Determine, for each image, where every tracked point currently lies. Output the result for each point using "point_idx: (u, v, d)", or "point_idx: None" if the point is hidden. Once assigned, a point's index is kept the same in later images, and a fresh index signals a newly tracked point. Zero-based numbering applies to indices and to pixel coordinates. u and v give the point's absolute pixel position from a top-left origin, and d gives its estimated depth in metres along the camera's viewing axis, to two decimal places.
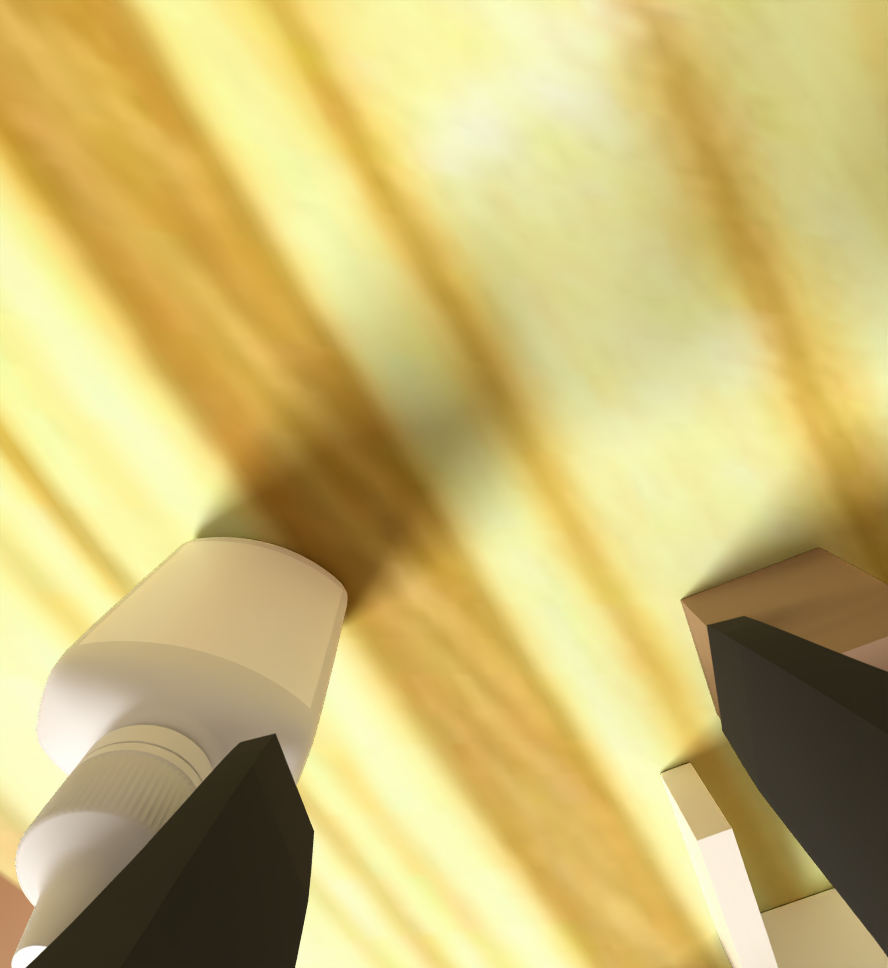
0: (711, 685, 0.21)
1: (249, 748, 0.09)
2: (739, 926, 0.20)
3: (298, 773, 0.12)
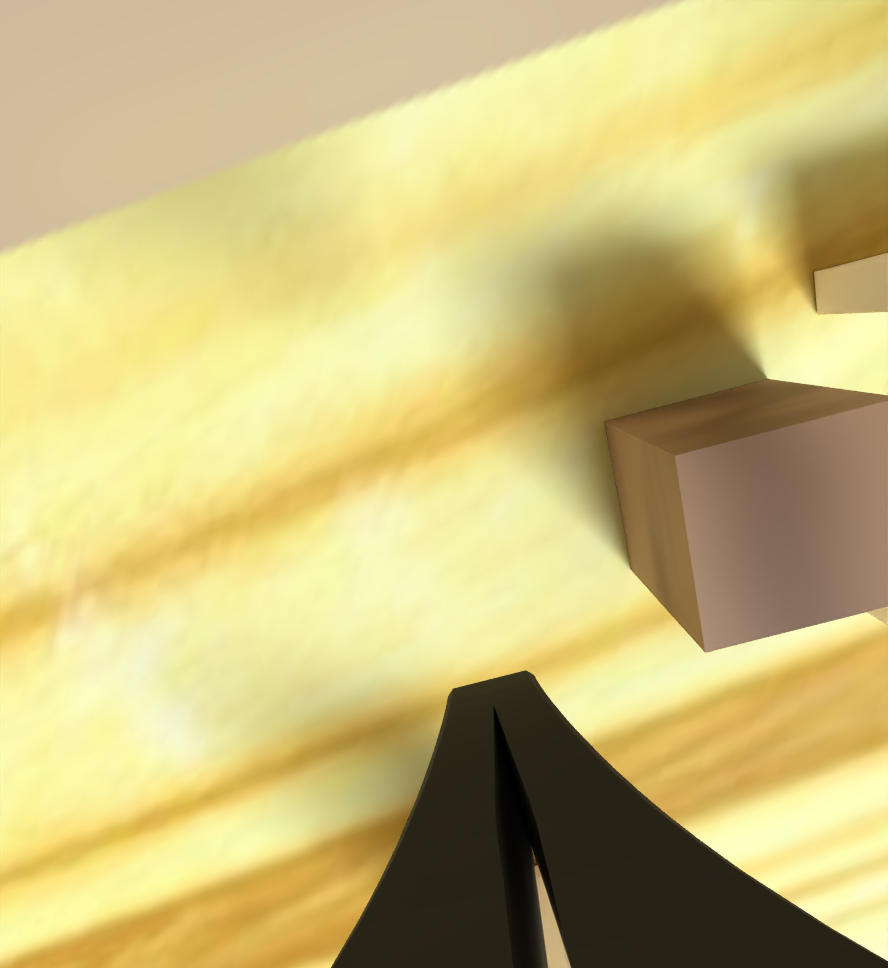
0: None
1: (472, 692, 0.09)
2: None
3: None
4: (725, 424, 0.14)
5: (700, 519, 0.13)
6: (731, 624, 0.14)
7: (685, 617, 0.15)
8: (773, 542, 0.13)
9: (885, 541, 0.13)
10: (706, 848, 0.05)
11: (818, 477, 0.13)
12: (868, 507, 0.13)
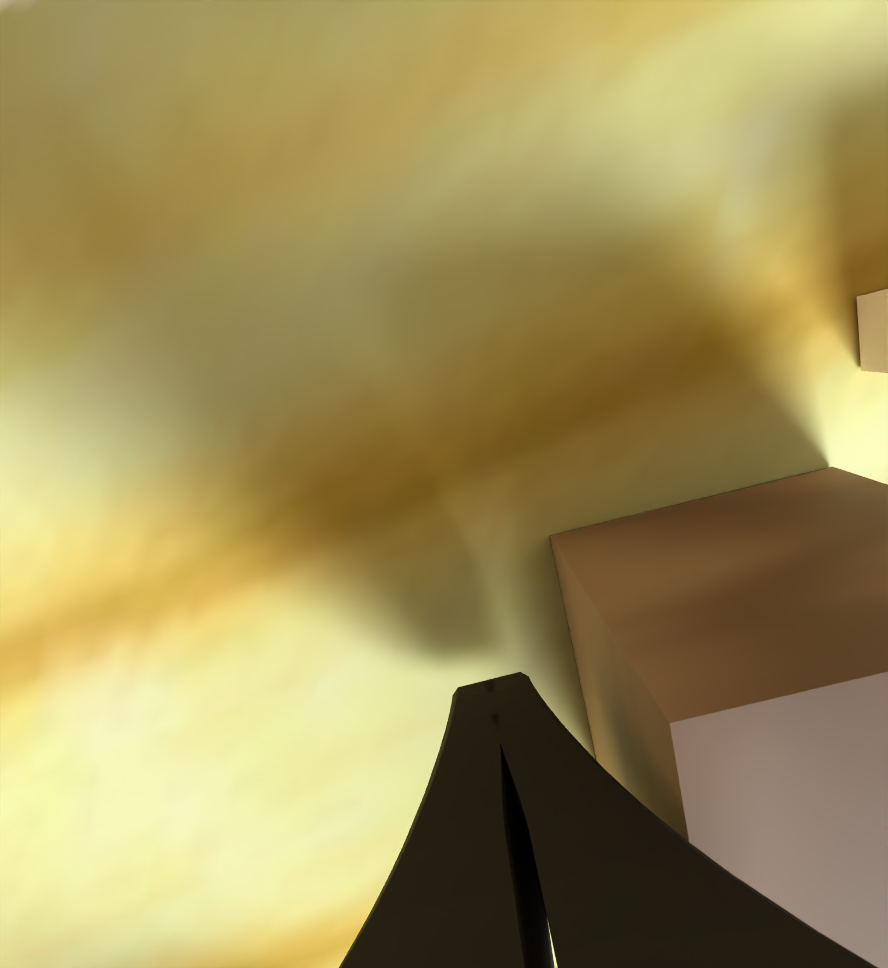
0: None
1: (477, 691, 0.09)
2: None
3: None
4: (779, 607, 0.07)
5: (727, 850, 0.06)
6: None
7: None
8: None
9: None
10: (696, 850, 0.05)
11: None
12: None
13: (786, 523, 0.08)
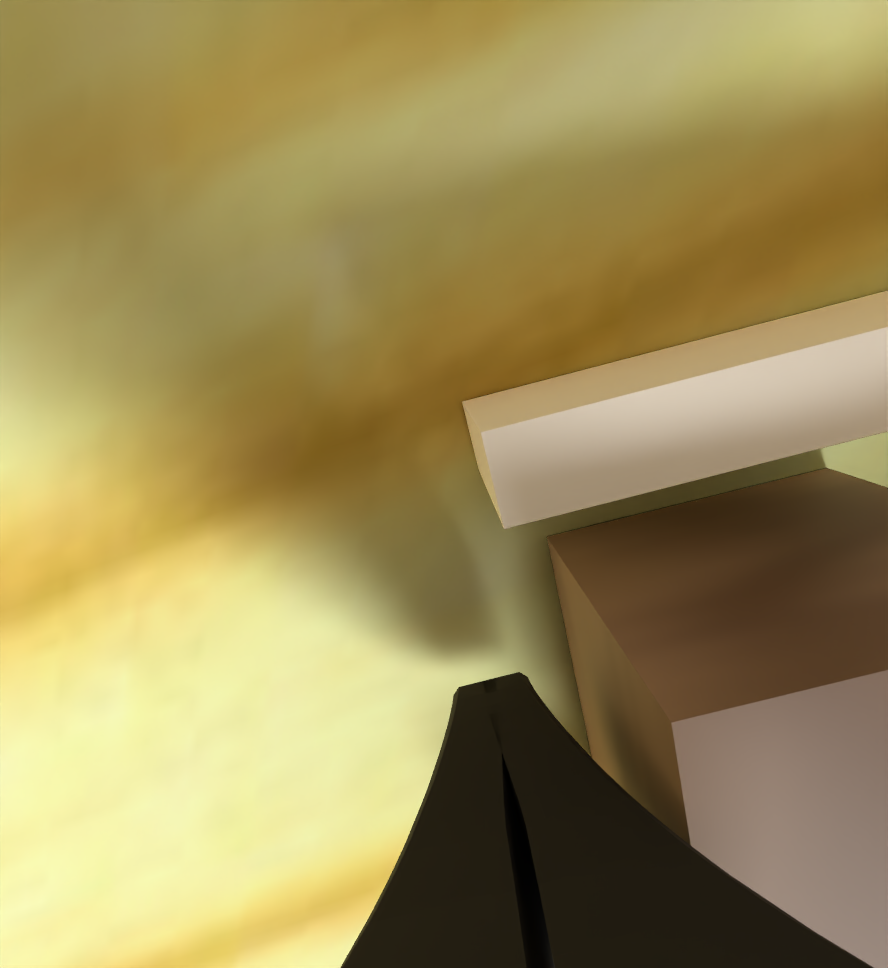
0: None
1: (478, 690, 0.09)
2: None
3: None
4: (777, 607, 0.07)
5: (728, 849, 0.06)
6: None
7: None
8: (887, 889, 0.06)
9: None
10: (694, 851, 0.05)
11: None
12: None
13: (782, 524, 0.08)
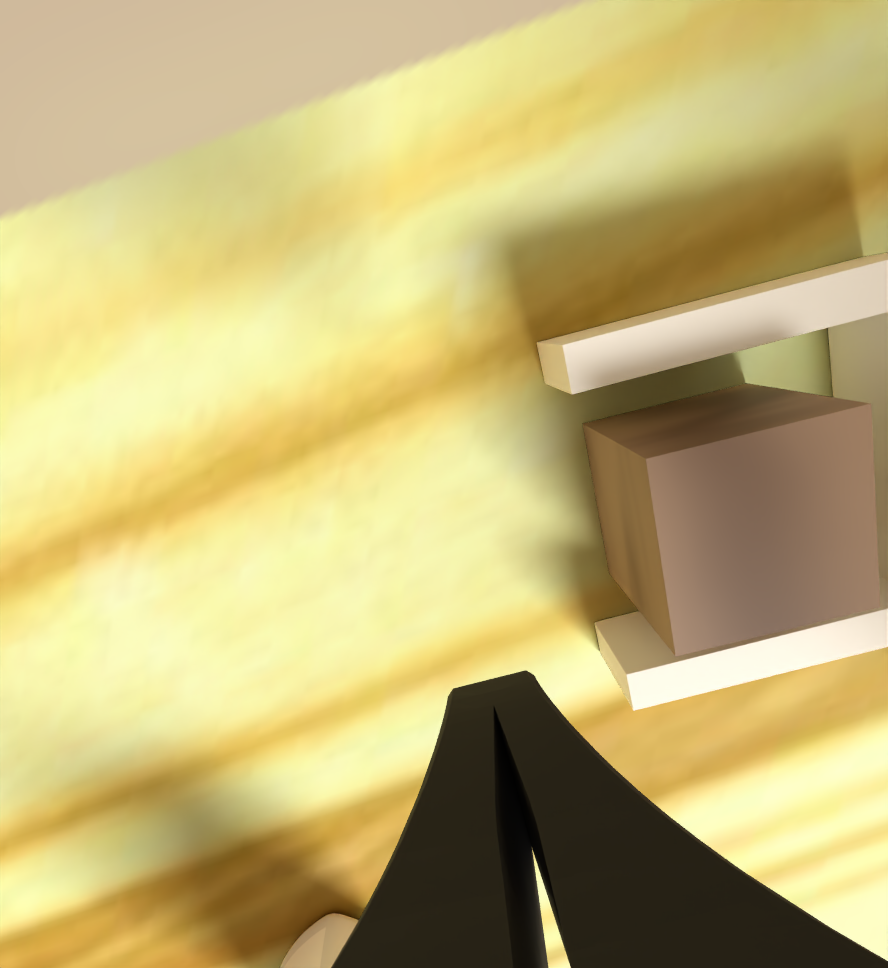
0: None
1: (472, 692, 0.09)
2: (776, 662, 0.16)
3: None
4: (699, 428, 0.14)
5: (671, 522, 0.13)
6: (702, 628, 0.14)
7: (657, 620, 0.15)
8: (744, 546, 0.13)
9: (856, 547, 0.13)
10: (706, 848, 0.05)
11: (789, 482, 0.13)
12: (839, 513, 0.13)
13: (711, 404, 0.16)
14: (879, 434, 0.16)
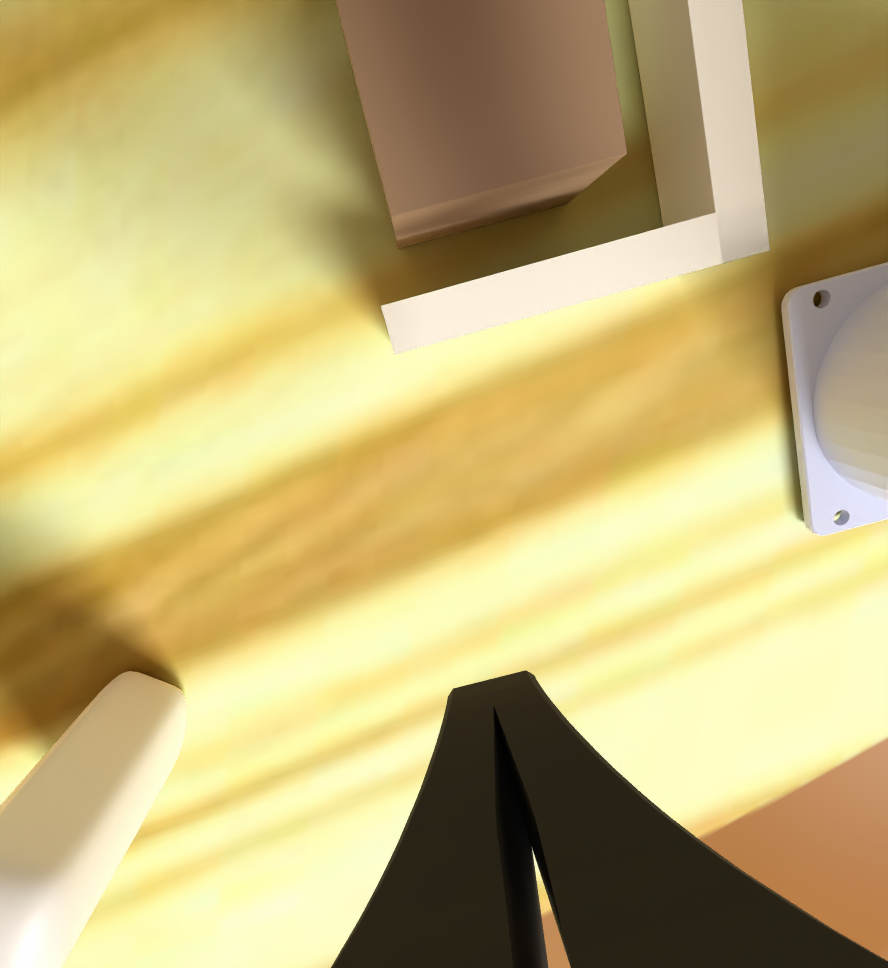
0: (514, 215, 0.16)
1: (472, 691, 0.09)
2: (553, 293, 0.14)
3: (14, 875, 0.13)
4: None
5: (361, 23, 0.11)
6: (417, 177, 0.12)
7: None
8: (453, 61, 0.11)
9: (587, 65, 0.11)
10: (706, 848, 0.05)
11: None
12: (562, 15, 0.11)
13: None
14: (663, 25, 0.14)
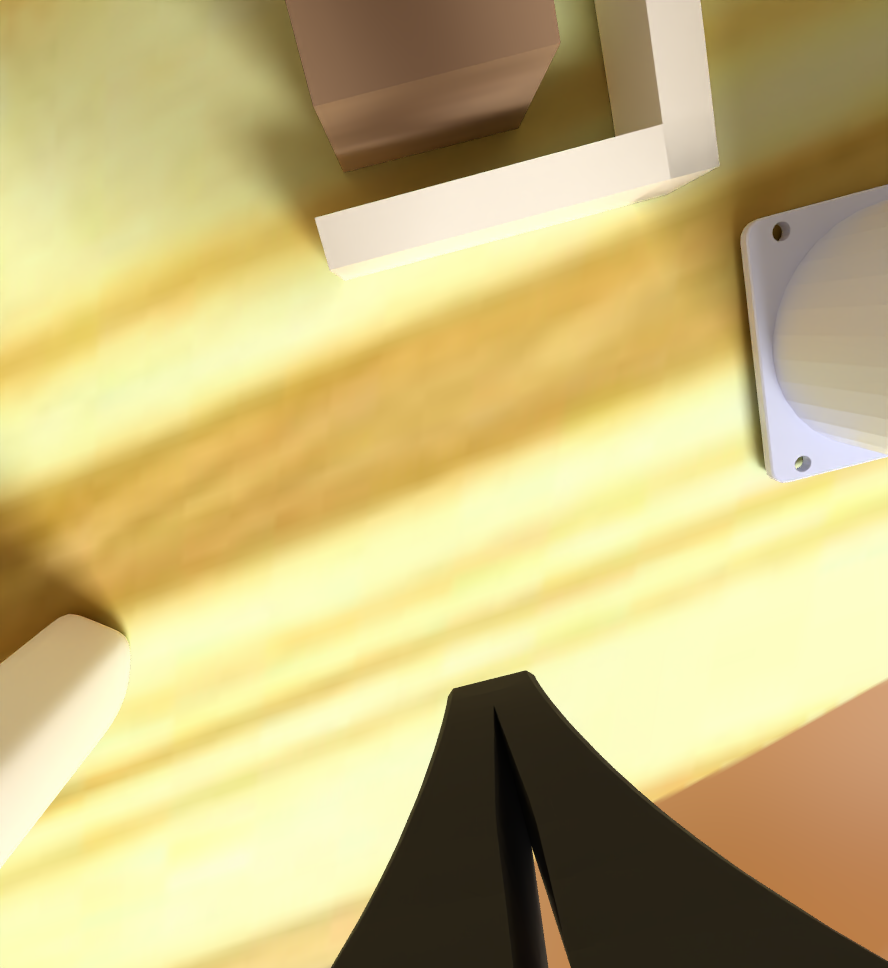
0: (462, 137, 0.16)
1: (472, 692, 0.09)
2: (494, 207, 0.14)
3: None
4: None
5: None
6: (340, 64, 0.11)
7: None
8: None
9: None
10: (706, 847, 0.05)
11: None
12: None
13: None
14: None
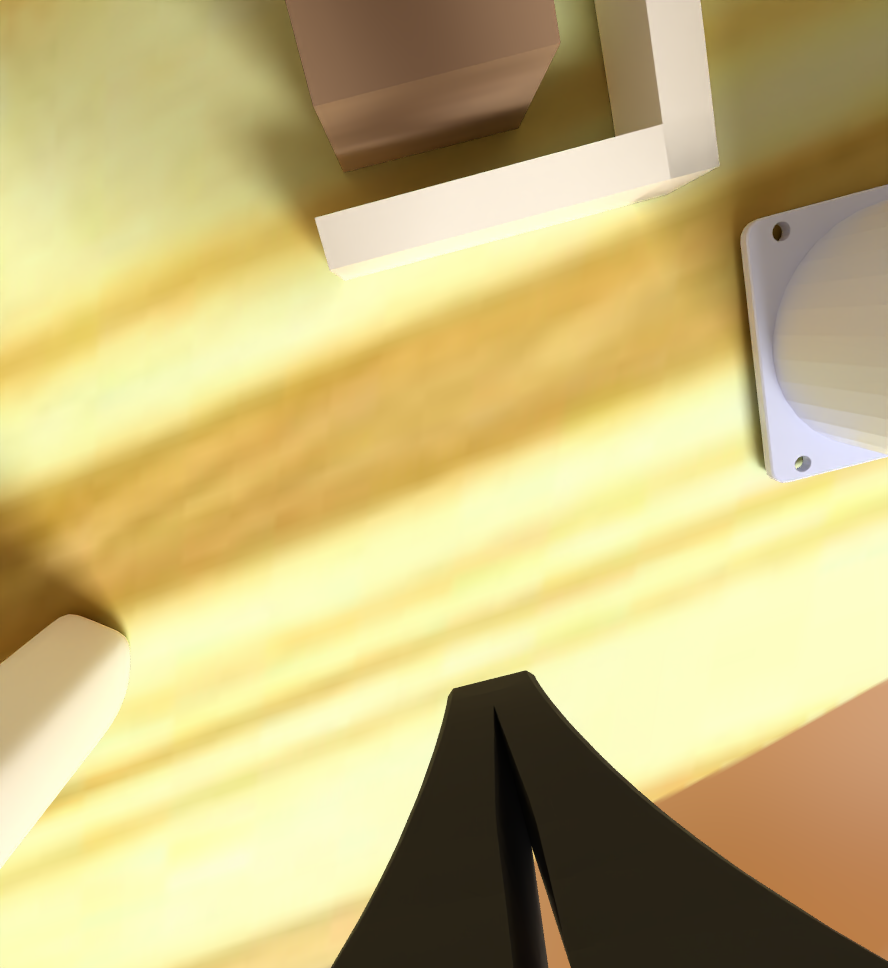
0: (462, 137, 0.16)
1: (472, 692, 0.09)
2: (494, 207, 0.14)
3: None
4: None
5: None
6: (340, 64, 0.11)
7: None
8: None
9: None
10: (706, 847, 0.05)
11: None
12: None
13: None
14: None
